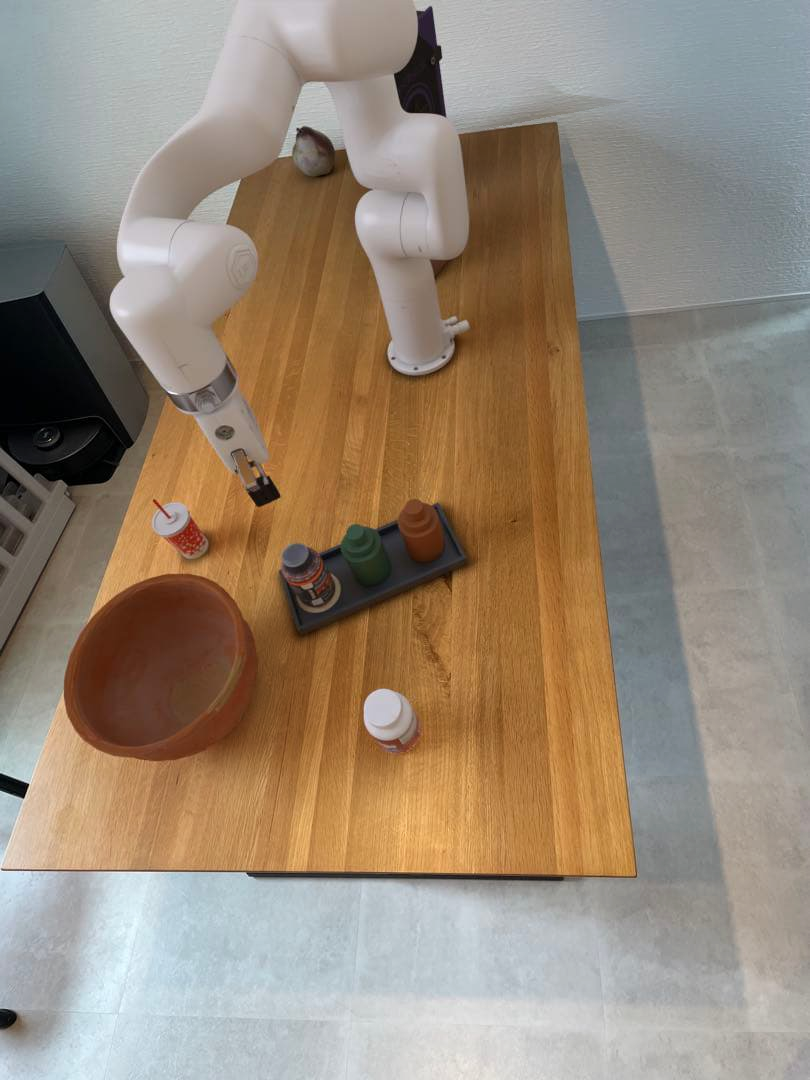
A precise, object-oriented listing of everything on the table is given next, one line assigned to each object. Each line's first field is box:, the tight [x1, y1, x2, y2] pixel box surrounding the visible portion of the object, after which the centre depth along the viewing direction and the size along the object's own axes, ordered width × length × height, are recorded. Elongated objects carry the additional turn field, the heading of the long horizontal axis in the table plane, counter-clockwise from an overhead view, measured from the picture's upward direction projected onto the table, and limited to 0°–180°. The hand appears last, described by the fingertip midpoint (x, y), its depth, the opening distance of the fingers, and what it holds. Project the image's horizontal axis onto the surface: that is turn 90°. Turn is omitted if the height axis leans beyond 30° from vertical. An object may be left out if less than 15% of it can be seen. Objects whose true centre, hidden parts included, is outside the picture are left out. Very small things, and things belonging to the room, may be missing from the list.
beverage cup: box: [151, 498, 209, 560], centre depth 108 cm, size 6×6×14 cm
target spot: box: [296, 573, 341, 613], centre depth 104 cm, size 7×7×1 cm
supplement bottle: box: [280, 542, 335, 607], centre depth 100 cm, size 6×6×11 cm
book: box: [394, 5, 447, 118], centre depth 143 cm, size 24×6×30 cm, turn 147°
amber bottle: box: [397, 498, 445, 563], centre depth 100 cm, size 6×6×11 cm
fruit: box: [291, 125, 336, 178], centre depth 161 cm, size 10×9×12 cm
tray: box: [278, 502, 469, 637], centre depth 104 cm, size 27×11×2 cm, turn 111°
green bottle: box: [340, 523, 391, 586], centre depth 100 cm, size 6×6×11 cm
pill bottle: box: [363, 688, 422, 755], centre depth 87 cm, size 6×6×11 cm
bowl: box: [63, 573, 259, 762], centre depth 93 cm, size 25×25×15 cm
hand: (259, 472), depth 87 cm, fingers open, 9 cm apart
